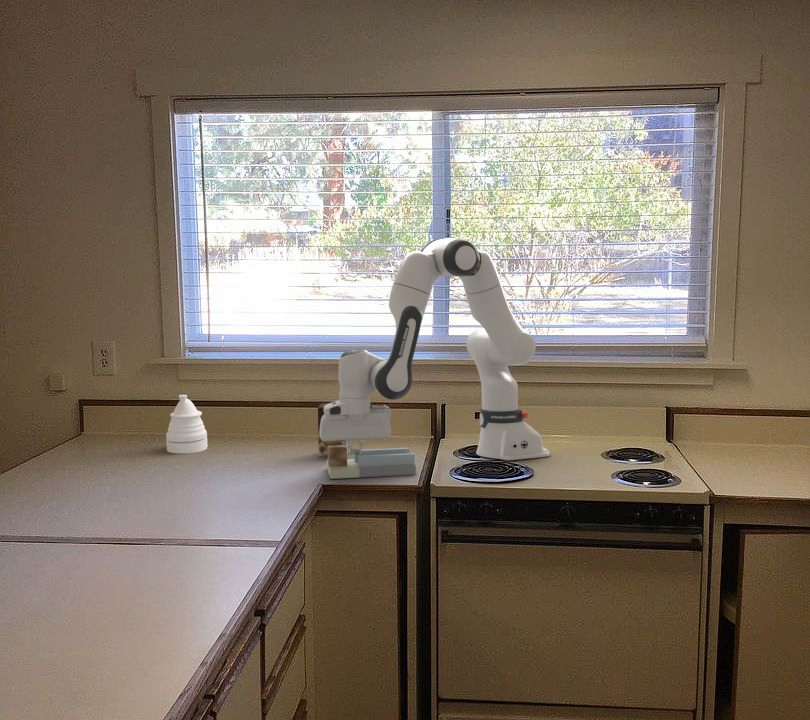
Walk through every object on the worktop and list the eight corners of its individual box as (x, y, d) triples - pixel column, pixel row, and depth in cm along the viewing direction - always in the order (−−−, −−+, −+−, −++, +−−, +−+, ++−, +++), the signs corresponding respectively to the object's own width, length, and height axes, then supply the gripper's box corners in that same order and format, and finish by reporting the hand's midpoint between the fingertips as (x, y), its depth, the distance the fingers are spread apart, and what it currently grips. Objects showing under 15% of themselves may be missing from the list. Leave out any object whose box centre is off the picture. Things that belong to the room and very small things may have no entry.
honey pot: (201, 453, 251) (198, 397, 248) (161, 453, 251) (158, 398, 248) (212, 443, 263) (209, 390, 261) (173, 444, 264) (170, 391, 261)
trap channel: (407, 465, 233) (407, 446, 233) (415, 474, 222) (415, 455, 221) (326, 468, 229) (326, 450, 228) (330, 478, 217) (330, 459, 217)
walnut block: (345, 462, 226) (344, 445, 226) (347, 466, 221) (347, 448, 221) (327, 462, 225) (327, 445, 225) (329, 466, 220) (329, 449, 220)
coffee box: (317, 458, 244) (316, 407, 241) (321, 453, 250) (320, 403, 248) (347, 458, 243) (345, 407, 240) (350, 453, 249) (349, 403, 247)
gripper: (389, 403, 228) (390, 449, 229) (318, 406, 224) (319, 454, 225) (392, 406, 222) (393, 454, 223) (320, 409, 218) (321, 458, 219)
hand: (355, 454), depth 224 cm, fingers closed
